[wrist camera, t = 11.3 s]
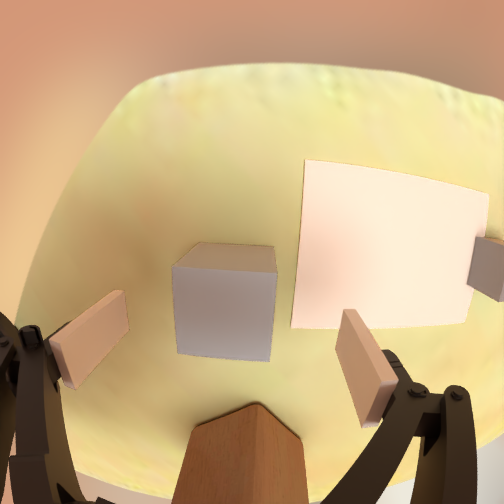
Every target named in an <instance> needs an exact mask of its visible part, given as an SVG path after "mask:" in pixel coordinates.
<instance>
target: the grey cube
mask: <svg viewBox="0 0 504 504" xmlns="http://www.w3.org/2000/svg"><path fill="white" fill-rule="evenodd" d="M467 285H469V286H471V287H472V288H474V289H476V290H478V291H480V292H482V293H483V294H485V295H487V296H489V297H490V298H492V299H494V300H496V301H497V302H502V301H504V241H502V240H499V239H492V238H484V237H476V241H475V248H474V253H473V259H472V264H471V269H470V273H469V278H468V282H467Z"/></svg>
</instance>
